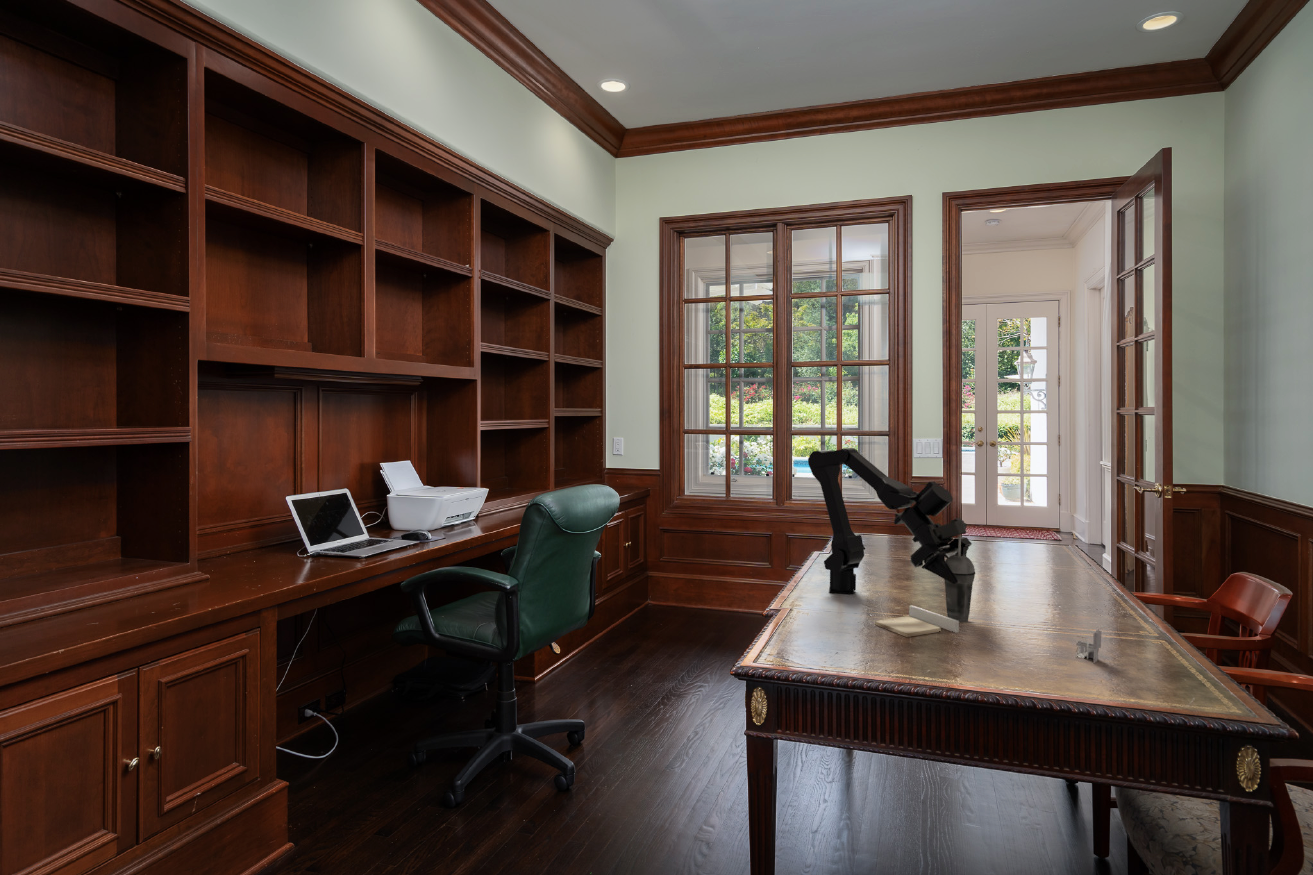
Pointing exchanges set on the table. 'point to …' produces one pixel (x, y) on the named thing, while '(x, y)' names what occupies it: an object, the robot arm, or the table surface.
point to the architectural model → (1089, 647)
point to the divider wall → (934, 618)
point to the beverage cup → (959, 586)
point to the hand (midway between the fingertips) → (964, 580)
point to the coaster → (907, 626)
